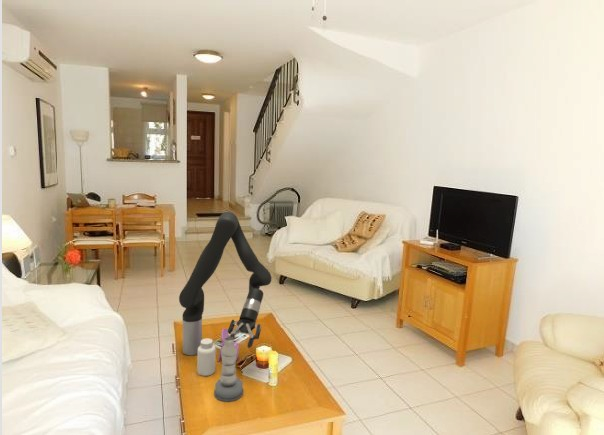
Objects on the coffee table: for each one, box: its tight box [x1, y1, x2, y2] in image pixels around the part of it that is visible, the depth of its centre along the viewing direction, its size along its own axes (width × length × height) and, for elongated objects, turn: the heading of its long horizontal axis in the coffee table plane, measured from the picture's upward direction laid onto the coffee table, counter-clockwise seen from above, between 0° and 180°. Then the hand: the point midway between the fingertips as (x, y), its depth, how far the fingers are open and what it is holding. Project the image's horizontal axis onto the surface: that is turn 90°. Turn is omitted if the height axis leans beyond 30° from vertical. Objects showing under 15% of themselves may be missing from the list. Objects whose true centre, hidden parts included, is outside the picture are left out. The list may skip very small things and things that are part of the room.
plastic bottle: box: [219, 336, 238, 386], centre depth 171 cm, size 6×7×20 cm
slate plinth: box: [213, 377, 244, 403], centre depth 172 cm, size 12×12×4 cm
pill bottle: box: [196, 337, 217, 377], centre depth 187 cm, size 8×8×15 cm
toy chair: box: [217, 328, 240, 362], centre depth 198 cm, size 8×9×15 cm
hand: (239, 345), depth 180 cm, fingers open, 8 cm apart
